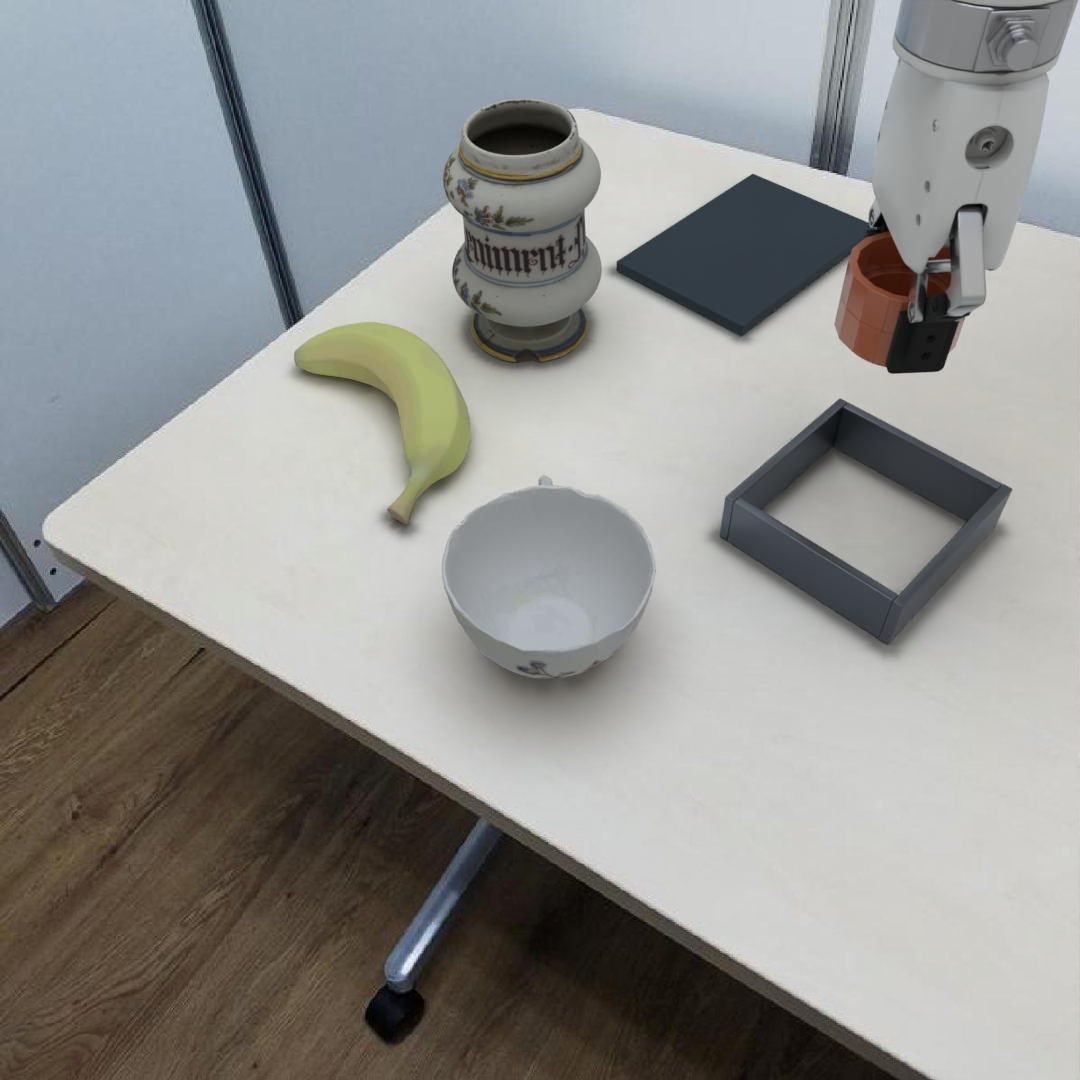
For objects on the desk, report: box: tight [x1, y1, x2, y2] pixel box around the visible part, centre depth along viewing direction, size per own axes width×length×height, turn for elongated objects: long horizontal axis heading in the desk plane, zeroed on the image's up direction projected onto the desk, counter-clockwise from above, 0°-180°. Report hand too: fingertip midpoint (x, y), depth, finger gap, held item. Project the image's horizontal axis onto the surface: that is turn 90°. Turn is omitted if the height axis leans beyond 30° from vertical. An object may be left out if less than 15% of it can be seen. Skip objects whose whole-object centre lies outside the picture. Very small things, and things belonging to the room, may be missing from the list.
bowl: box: [834, 231, 966, 368], centre depth 59 cm, size 7×7×5 cm
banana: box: [293, 321, 472, 525], centre depth 77 cm, size 14×6×20 cm
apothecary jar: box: [442, 97, 603, 363], centre depth 79 cm, size 12×12×18 cm
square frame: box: [719, 397, 1013, 646], centre depth 68 cm, size 13×13×4 cm
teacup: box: [441, 474, 657, 680], centre depth 63 cm, size 15×12×8 cm
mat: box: [615, 173, 876, 337], centre depth 92 cm, size 20×14×1 cm
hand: (896, 325), depth 60 cm, fingers closed on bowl, 7 cm apart
